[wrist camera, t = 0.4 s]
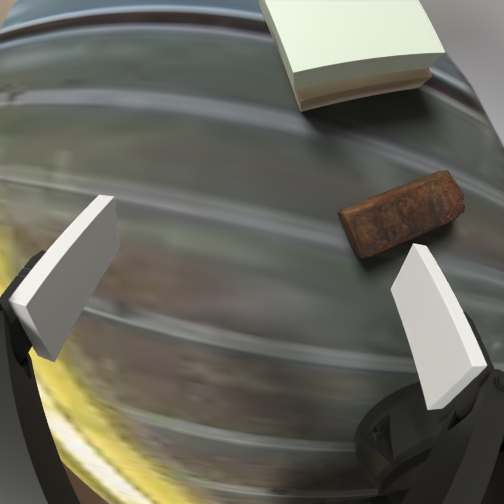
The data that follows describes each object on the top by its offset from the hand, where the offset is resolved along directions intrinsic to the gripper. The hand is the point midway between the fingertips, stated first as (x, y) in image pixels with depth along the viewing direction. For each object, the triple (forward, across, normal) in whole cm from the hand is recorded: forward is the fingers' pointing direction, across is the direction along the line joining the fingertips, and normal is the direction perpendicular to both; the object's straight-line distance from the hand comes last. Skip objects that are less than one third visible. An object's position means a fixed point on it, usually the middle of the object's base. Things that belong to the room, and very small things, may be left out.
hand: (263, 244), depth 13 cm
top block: (+17, -5, -12) cm, 21 cm away
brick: (+14, -12, +3) cm, 19 cm away
